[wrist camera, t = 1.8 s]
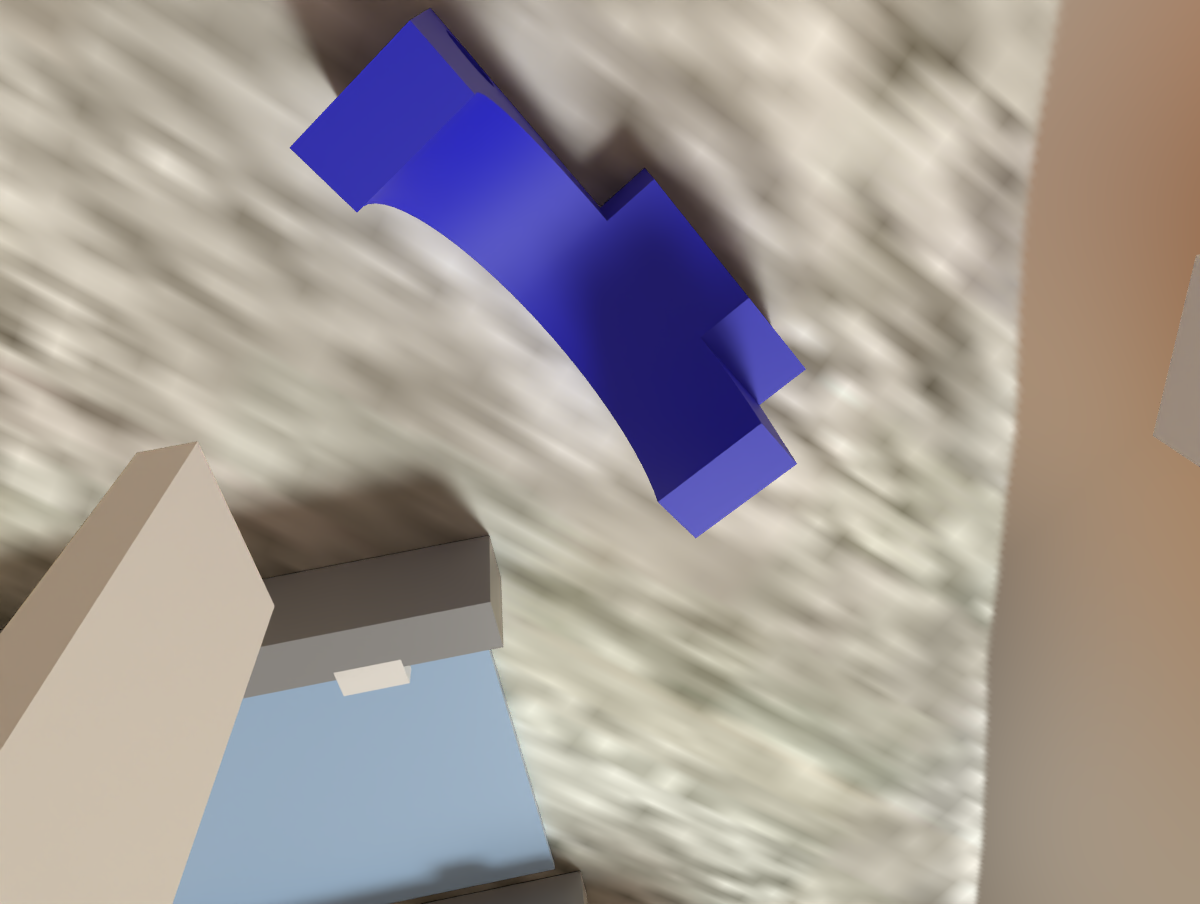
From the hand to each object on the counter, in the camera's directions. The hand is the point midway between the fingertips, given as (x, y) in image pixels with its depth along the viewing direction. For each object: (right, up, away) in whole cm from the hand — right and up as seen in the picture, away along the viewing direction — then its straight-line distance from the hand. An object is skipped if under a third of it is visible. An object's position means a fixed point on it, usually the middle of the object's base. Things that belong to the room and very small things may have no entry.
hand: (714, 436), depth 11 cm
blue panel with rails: (-13, -13, +20) cm, 27 cm away
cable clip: (-2, +6, +11) cm, 12 cm away
